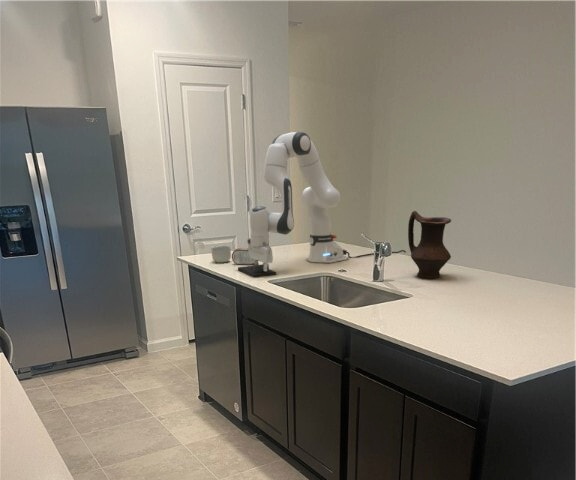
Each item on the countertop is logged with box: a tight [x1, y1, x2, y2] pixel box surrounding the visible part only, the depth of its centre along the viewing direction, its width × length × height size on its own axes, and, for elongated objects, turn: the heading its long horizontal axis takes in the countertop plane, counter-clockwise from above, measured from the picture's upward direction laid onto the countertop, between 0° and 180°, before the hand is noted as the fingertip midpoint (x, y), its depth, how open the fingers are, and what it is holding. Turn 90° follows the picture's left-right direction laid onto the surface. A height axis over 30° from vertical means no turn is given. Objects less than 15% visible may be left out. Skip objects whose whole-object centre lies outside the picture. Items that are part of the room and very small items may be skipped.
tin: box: [231, 248, 255, 266], centre depth 297 cm, size 15×3×8 cm, turn 84°
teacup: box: [210, 245, 232, 264], centre depth 306 cm, size 14×11×8 cm
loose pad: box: [245, 264, 277, 278], centre depth 275 cm, size 12×13×4 cm
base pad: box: [237, 265, 253, 274], centre depth 283 cm, size 12×10×2 cm
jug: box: [407, 210, 452, 280], centre depth 258 cm, size 21×18×30 cm
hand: (261, 269), depth 274 cm, fingers open, 7 cm apart
